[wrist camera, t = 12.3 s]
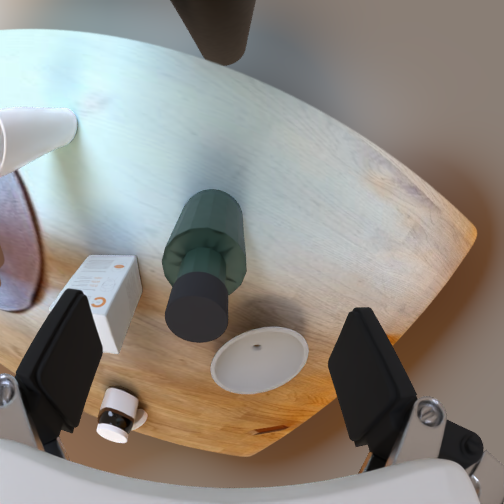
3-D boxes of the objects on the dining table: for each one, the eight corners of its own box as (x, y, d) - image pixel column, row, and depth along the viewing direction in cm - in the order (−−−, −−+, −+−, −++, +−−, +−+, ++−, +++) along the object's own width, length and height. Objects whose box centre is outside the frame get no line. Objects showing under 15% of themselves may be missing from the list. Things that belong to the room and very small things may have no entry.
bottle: (172, 205, 34) (133, 274, 20) (225, 179, 33) (220, 233, 19) (200, 253, 38) (184, 339, 24) (251, 230, 37) (263, 310, 22)
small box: (97, 289, 39) (64, 347, 28) (88, 253, 36) (46, 308, 25) (144, 291, 40) (119, 355, 29) (137, 254, 37) (104, 314, 26)
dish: (261, 381, 52) (264, 401, 47) (195, 357, 47) (193, 379, 43) (321, 324, 45) (329, 346, 41) (249, 290, 41) (251, 312, 37)
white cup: (80, 153, 30) (6, 186, 17) (43, 149, 29) (-32, 180, 15) (87, 102, 27) (9, 109, 14) (48, 101, 26) (-30, 112, 12)
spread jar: (112, 377, 50) (99, 422, 40) (159, 398, 54) (152, 443, 44) (100, 397, 54) (89, 436, 44) (141, 415, 58) (134, 454, 48)
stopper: (170, 258, 24) (152, 308, 18) (214, 238, 24) (208, 286, 17) (195, 294, 26) (186, 349, 20) (237, 277, 26) (239, 331, 19)
